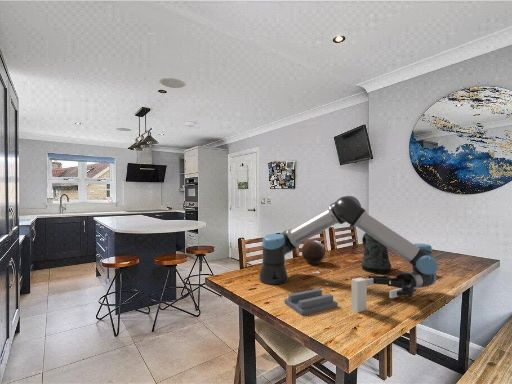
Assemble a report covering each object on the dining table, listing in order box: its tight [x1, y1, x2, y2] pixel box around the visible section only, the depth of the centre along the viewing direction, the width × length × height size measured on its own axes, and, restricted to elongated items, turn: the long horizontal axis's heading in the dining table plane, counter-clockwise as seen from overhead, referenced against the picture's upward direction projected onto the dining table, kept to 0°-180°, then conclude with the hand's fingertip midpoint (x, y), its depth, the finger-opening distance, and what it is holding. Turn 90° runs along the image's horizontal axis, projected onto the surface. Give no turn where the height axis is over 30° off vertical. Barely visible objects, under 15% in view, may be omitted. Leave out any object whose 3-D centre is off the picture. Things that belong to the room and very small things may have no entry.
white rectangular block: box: [350, 277, 368, 313], centre depth 105 cm, size 3×5×12 cm, turn 116°
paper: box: [312, 270, 329, 285], centre depth 149 cm, size 25×17×1 cm
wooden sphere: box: [301, 239, 326, 264], centre depth 175 cm, size 15×15×15 cm
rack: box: [283, 288, 339, 316], centre depth 110 cm, size 12×18×4 cm, turn 116°
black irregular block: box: [360, 232, 392, 275], centre depth 161 cm, size 16×19×25 cm
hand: (375, 288), depth 109 cm, fingers open, 13 cm apart
